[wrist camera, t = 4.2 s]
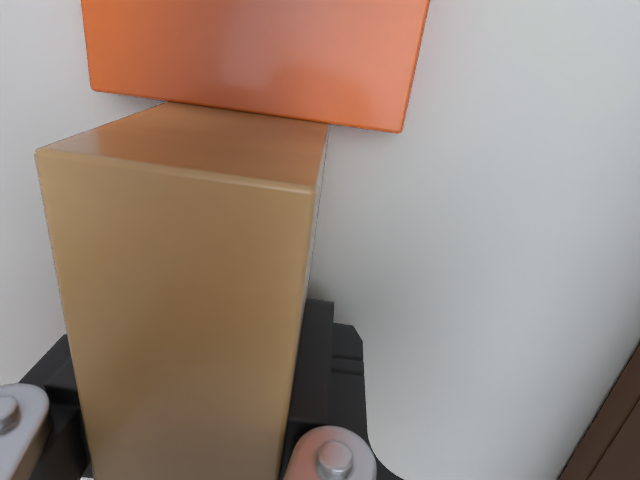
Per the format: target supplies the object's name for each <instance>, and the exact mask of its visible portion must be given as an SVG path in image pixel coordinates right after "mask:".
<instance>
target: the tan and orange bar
mask: <svg viewBox="0 0 640 480" xmlns="http://www.w3.org/2000/svg"><path fill="white" fill-rule="evenodd" d="M429 3H430V0H81V6H82V15H83V23H84V32H85V41H86V50H87V59H88V67H89V76H90V85H91V89H92V90H94V91H97V92H104V93H111V94H118V95H125V96H133V97H140V98H147V99H154V100H161V101H168V102H166V103H163V104H160V105H158V106H155V107H152V108H149V109H147V110H144V111H141V112H138V113H135V114H133V115H130V116H127V117H124V118H121V119H119V120H116V121H113V122H110V123H107V124H105V125H102V126H99V127H96V128H94V129H91V130H88V131H85V132H82V133H80V134H77V135H74V136H71V137H68V138H66V139H63V140H60V141H57V142H55V143H52V144H49V145H46V146H43V147H41V148H38V149H37V150H36V151H35V161H36V167H37V172H38V178H39V183H40V189H41V194H42V199H43V205H44V210H45V216H46V221H47V227H48V232H49V238H50V243H51V248H52V254H53V259H54V265H55V270H56V276H57V281H58V287H59V292H60V297H61V303H62V308H63V314H64V319H65V325H66V330H67V336H68V341H69V346H70V352H71V357H72V363H73V368H74V374H75V379H76V385H77V390H78V395H79V401H80V406H81V412H82V417H83V423H84V428H85V434H86V439H87V444H88V450H89V455H90V461H91V466H92V472H93V477H94V480H280V474H281V466H282V459H283V451H284V443H285V436H286V428H287V420H288V414H289V407H290V400H291V394H292V387H293V381H294V374H295V368H296V361H297V355H298V348H299V342H300V335H301V328H302V322H303V315H304V309H305V302H306V298H307V291H308V283H309V276H310V268H311V261H312V253H313V246H314V238H315V231H316V223H317V216H318V209H319V201H320V194H321V186H322V179H323V171H324V164H325V156H326V149H327V141H328V134H329V127H330V124H333V125H340V126H347V127H354V128H361V129H368V130H376V131H383V132H390V133H397V134H398V133H401V132H402V130H403V125H404V121H405V116H406V111H407V107H408V102H409V97H410V92H411V88H412V83H413V78H414V74H415V69H416V64H417V59H418V55H419V50H420V45H421V41H422V36H423V31H424V26H425V22H426V17H427V12H428V8H429Z"/></svg>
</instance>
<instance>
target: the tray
mask: <svg viewBox="0 0 640 480" xmlns="http://www.w3.org/2000/svg"><path fill="white" fill-rule="evenodd" d="M559 480H640V345H639V346H638V348H637V350H636V351H635V353H634V355H633V356H632V358H631V360H630V361H629V363H628V365H627V366H626V368H625V370H624V371H623V373H622V375H621V376H620V378H619V380H618V381H617V383H616V385H615V386H614V388H613V390H612V391H611V393H610V395H609V396H608V398H607V400H606V401H605V403H604V405H603V406H602V408H601V410H600V411H599V413H598V415H597V416H596V418H595V420H594V421H593V423H592V425H591V426H590V428H589V430H588V431H587V433H586V435H585V436H584V438H583V440H582V441H581V443H580V445H579V446H578V448H577V450H576V451H575V453H574V455H573V456H572V458H571V460H570V461H569V463H568V465H567V466H566V468H565V470H564V471H563V473H562V475H561V476H560V478H559Z"/></svg>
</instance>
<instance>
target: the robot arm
mask: <svg viewBox="0 0 640 480" xmlns="http://www.w3.org/2000/svg"><path fill="white" fill-rule="evenodd" d="M333 314H334V302H331V301H324V300H317V299H310V298H306V302H305V309H304V315H303V322H302V328H301V335H300V342H299V348H298V355H297V361H296V368H295V374H294V381H293V387H292V394H291V400H290V407H289V414H288V420H287V428H286V436H285V443H284V451H283V459H282V466H281V474H280V480H403V479H402V478H400V477H398V476H396V475H395V474H393V473H392V472H391V471H389V470H388V469H387V468H386V467H385V466H384V465H383V464H382V463H381V462H380V461H379V460H378V458H377V457H376V455H375V454H374V452H373V450H372V448H371V446H370V443H369V440H368V434H367V418H366V399H365V380H364V362H363V343H362V340H361V338H360V336H359V335H358V333H357V331H356V330H355V328H354V327H353V326H352V325H345V324H338V323H333ZM81 477H88V478H94V477H93V472H92V466H91V461H90V455H89V450H88V444H87V439H86V434H85V428H84V423H83V417H82V412H81V406H80V401H79V395H78V390H77V385H76V379H75V374H74V368H73V363H72V357H71V352H70V346H69V341H68V336H67V334H66V335H65V334H64V335H63V336H62V337H61V338H60V339H59V340H58V341H57V342H56V344H55V345H54V346H53V347H52V348H51V349H50V350H49V351H48V352H47V353H46V354H45V355H44V356H43V357H42V358H41V359H40V360H39V361H38V362H37V364H36V365H35V366H34V367H33V368H32V369H31V370H30V371H29V372H28V373H27V374H26V375H25V376H24V377H23V378H22V379H21V380H20V381H19V383H18V384H8V385H3V386H0V480H80V479H81Z"/></svg>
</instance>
